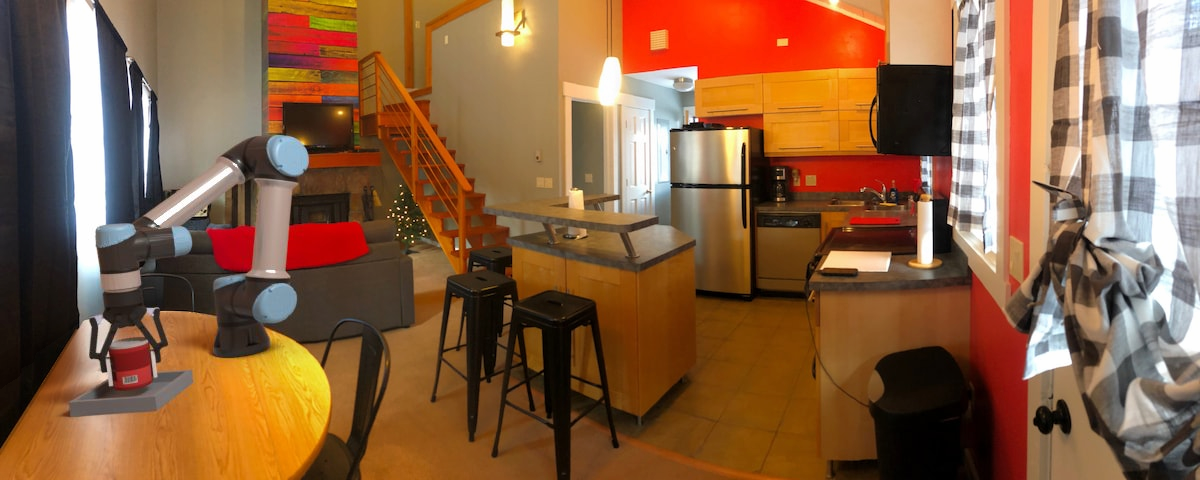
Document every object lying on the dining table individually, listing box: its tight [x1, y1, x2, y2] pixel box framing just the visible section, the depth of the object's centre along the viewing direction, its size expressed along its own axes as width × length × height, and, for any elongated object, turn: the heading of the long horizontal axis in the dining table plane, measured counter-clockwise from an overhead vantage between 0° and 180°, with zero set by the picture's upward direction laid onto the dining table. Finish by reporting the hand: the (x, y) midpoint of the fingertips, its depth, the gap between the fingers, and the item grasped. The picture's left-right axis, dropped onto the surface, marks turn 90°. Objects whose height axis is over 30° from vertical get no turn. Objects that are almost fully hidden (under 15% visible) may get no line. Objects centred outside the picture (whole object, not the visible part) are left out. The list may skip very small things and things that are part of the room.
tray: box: [68, 369, 194, 418], centre depth 153 cm, size 18×18×4 cm
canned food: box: [108, 336, 153, 391], centre depth 152 cm, size 8×8×11 cm
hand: (133, 380), depth 153 cm, fingers closed on canned food, 8 cm apart
